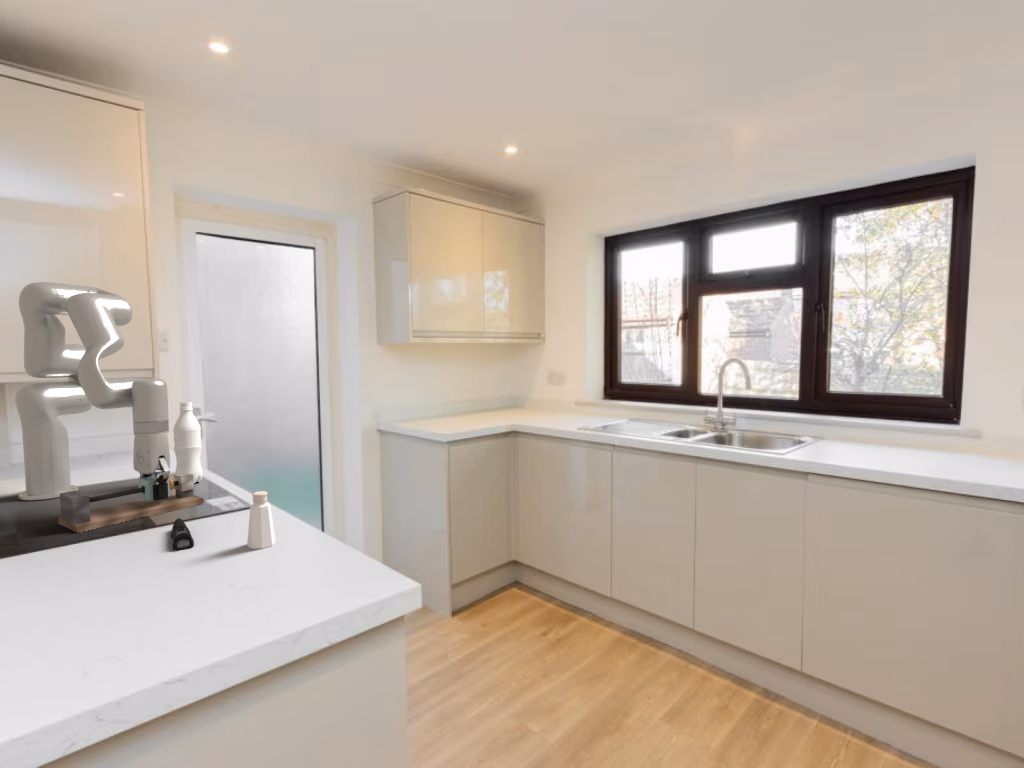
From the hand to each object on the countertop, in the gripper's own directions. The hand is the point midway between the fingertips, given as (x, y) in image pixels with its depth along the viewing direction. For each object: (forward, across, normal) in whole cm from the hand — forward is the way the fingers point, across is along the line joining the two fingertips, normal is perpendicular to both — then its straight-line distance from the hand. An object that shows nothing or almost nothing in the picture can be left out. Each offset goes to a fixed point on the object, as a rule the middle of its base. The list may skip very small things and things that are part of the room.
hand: (154, 496), depth 135 cm
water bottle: (+3, -20, +18) cm, 27 cm away
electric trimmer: (+4, +29, -7) cm, 30 cm away
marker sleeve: (0, 0, 0) cm, 0 cm away
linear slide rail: (+3, 0, -4) cm, 5 cm away
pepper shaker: (+3, +47, +1) cm, 47 cm away
